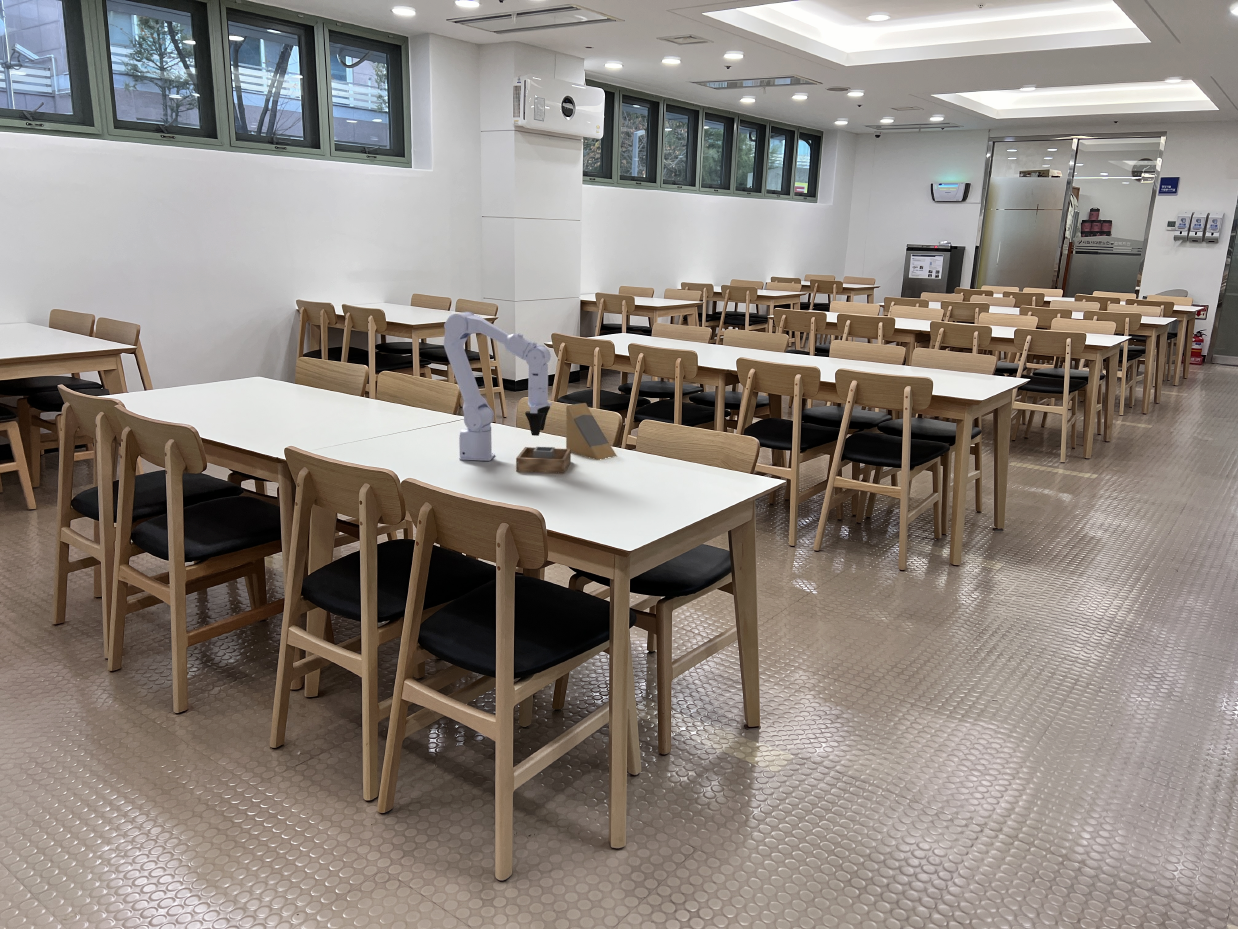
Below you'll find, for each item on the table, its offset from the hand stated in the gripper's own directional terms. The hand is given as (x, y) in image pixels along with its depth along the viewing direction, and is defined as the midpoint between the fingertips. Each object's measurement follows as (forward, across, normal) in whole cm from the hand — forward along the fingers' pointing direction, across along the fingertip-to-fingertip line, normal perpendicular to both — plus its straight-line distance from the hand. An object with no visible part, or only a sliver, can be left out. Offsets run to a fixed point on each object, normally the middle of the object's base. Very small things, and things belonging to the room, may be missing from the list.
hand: (537, 432), depth 260 cm
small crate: (+8, -4, -3) cm, 10 cm away
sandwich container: (+10, +15, -15) cm, 23 cm away
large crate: (+9, -4, -3) cm, 11 cm away
